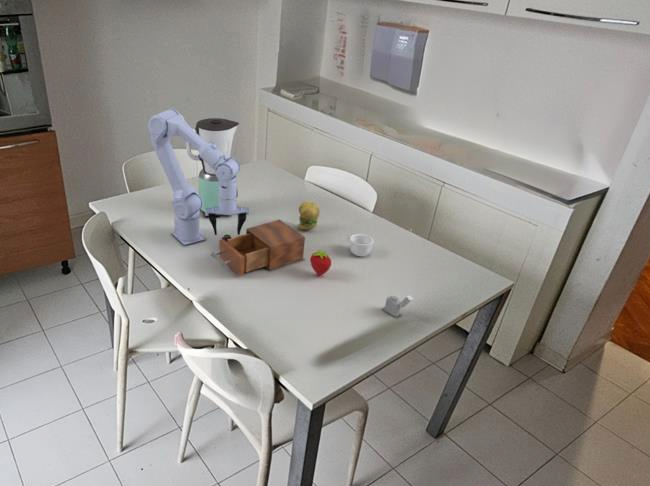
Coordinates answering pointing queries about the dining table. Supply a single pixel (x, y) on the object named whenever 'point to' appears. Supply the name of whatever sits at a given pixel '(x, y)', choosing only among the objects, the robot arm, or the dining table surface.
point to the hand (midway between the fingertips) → (227, 233)
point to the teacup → (360, 244)
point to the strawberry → (320, 262)
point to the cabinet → (279, 242)
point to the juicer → (222, 137)
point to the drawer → (242, 253)
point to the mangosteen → (226, 237)
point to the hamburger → (308, 215)
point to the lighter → (396, 304)
